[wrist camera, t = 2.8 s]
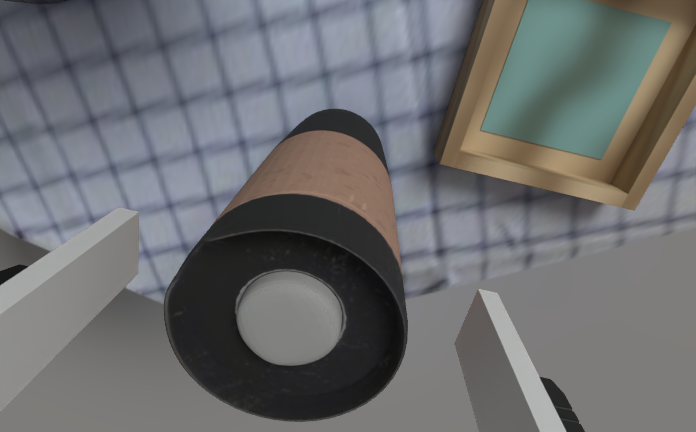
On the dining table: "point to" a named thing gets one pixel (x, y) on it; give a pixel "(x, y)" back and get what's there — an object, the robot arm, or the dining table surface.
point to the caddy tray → (573, 94)
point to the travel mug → (298, 281)
